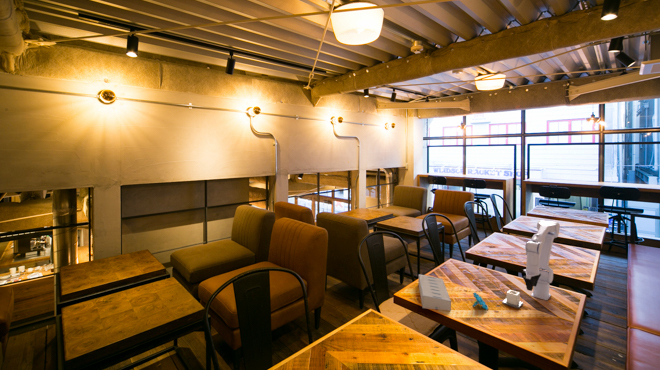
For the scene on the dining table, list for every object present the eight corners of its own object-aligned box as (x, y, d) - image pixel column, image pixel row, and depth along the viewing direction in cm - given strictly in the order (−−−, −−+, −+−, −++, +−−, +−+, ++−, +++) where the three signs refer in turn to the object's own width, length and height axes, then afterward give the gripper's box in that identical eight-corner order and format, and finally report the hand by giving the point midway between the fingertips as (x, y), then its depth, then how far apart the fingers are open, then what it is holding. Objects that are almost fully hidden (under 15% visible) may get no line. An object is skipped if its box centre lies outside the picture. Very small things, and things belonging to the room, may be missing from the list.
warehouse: (450, 311, 157) (451, 297, 157) (422, 308, 160) (422, 295, 160) (442, 287, 187) (442, 275, 186) (418, 285, 190) (418, 274, 189)
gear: (489, 311, 153) (474, 294, 157) (479, 317, 155) (465, 300, 159) (489, 304, 163) (475, 289, 167) (480, 310, 165) (467, 295, 169)
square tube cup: (509, 299, 167) (509, 289, 167) (519, 302, 163) (520, 292, 163) (506, 301, 164) (506, 291, 163) (516, 305, 160) (517, 294, 160)
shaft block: (507, 299, 169) (507, 289, 169) (523, 304, 163) (523, 294, 163) (502, 303, 164) (502, 293, 164) (518, 308, 158) (519, 298, 158)
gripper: (528, 258, 167) (527, 281, 169) (519, 265, 158) (518, 289, 159) (543, 261, 162) (542, 285, 163) (535, 268, 153) (534, 294, 154)
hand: (531, 288), depth 161 cm, fingers open, 7 cm apart
